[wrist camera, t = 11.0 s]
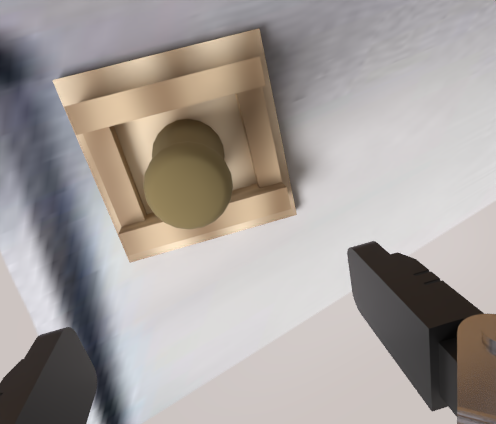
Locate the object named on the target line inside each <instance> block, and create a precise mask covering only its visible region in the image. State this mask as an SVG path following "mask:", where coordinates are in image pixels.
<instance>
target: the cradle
mask: <svg viewBox="0 0 496 424" xmlns="http://www.w3.org/2000/svg"><path fill="white" fill-rule="evenodd" d="M53 83H54V85H55V87H56V90H57V92H58V95H59V97H60V99H61V102H62V104H63V106H64V109H65V111H66V113H67V116H68V118H69V120H70V123H71V125H72V128H73V130H74V132H75V135H76V137H77V139H78V142H79V144H80V146H81V149H82V151H83V153H84V156H85V158H86V160H87V163H88V165H89V168H90V170H91V172H92V175H93V177H94V179H95V182H96V184H97V186H98V189H99V191H100V193H101V196H102V198H103V201H104V203H105V205H106V208H107V210H108V212H109V215H110V217H111V219H112V222H113V224H114V226H115V229H116V231H117V233H118V236H119V238H120V241H121V243H122V245H123V248H124V250H125V252H126V255H127V257H128V259H129V262H134V261H137V260H141V259H144V258H148V257H151V256H154V255H158V254H161V253H165V252H168V251H172V250H175V249H179V248H182V247H186V246H189V245H193V244H196V243H200V242H203V241H207V240H210V239H214V238H217V237H221V236H224V235H228V234H231V233H235V232H238V231H242V230H245V229H249V228H252V227H256V226H259V225H263V224H266V223H269V222H273V221H276V220H280V219H283V218H287V217H290V216H294V215H297V214H296V209H295V204H294V199H293V194H292V189H291V184H290V179H289V174H288V169H287V164H286V159H285V154H284V149H283V144H282V139H281V134H280V129H279V124H278V119H277V114H276V109H275V104H274V99H273V94H272V89H271V84H270V79H269V74H268V69H267V64H266V59H265V54H264V49H263V44H262V39H261V34H260V29H259V28H258V29H254V30H251V31H247V32H243V33H239V34H235V35H231V36H227V37H223V38H219V39H215V40H211V41H207V42H203V43H199V44H195V45H191V46H187V47H183V48H179V49H175V50H171V51H167V52H163V53H159V54H155V55H151V56H147V57H143V58H139V59H135V60H131V61H127V62H123V63H119V64H115V65H111V66H107V67H103V68H99V69H95V70H91V71H87V72H83V73H79V74H75V75H71V76H67V77H63V78H59V79H55V80H53ZM183 119H192V120H197V121H201V122H203V123H205V124H206V125H208V126H210V127H211V128H212V129H213V130H214V131H215V132H216V133H217V134H218V136H219V138H220V140H221V142H222V144H223V148H224V155H225V157H224V160H225V162H226V164H227V166H228V168H229V170H230V172H231V175H232V182H233V190H232V195H231V200H230V202H229V204H228V206H227V208H226V209H225V211H224V213H223V214H222V215H221V216H220V217H219V218H218V219H217V220H216V221H214V222H213V223H211V224H209V225H207V226H205V227H202V228H196V229H190V230H189V229H181V228H175V227H173V226H171V225H169V224H166V223H164V222H163V221H162V220H161V219H159V218H158V217H157V216H156V215H155V214H154V213H153V211H152V210H151V208H150V206H149V205H148V203H147V201H146V197H145V193H144V189H143V184H144V175H145V172H146V170H147V168H148V166H149V163H150V161H151V160H152V149H153V143H154V141H155V139H156V137H157V135H158V133H159V132H160V131H161V130H162V129H163V128H164V127H165V126H166V125H168V124H170V123H172V122H174V121H176V120H183Z"/></svg>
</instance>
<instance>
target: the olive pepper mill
mask: <svg viewBox="0 0 496 424" xmlns="http://www.w3.org/2000/svg"><path fill="white" fill-rule="evenodd" d="M224 157H225V155H224V148H223V144H222V142H221V140H220V138H219V136H218V134H217V133H216V132H215V131H214V130H213V129H212V128H211V127H210V126H208V125H206V124H205V123H203V122H201V121H197V120H192V119H183V120H176V121H174V122H172V123H170V124H168V125H166V126H165V127H164V128H163V129H162V130H161V131H160V132H159V133H158V135H157V137H156V139H155V141H154V143H153V149H152V160H151V161H150V163H149V166H148V168H147V170H146V172H145V175H144V184H143V189H144V193H145V197H146V201H147V203H148V205H149V206H150V208H151V210H152V211H153V213H154V214H155V215H156V216H157V217H158V218H159V219H161V220H162V221H163V222H164V223H166V224H169V225H171V226H173V227H175V228H181V229H189V230H190V229H196V228H202V227H205V226H207V225H209V224H211V223H213V222H214V221H216V220H217V219H218V218H219V217H220V216H221V215H222V214H223V213H224V211H225V209H226V208H227V206H228V204H229V202H230V200H231V195H232V190H233V182H232V175H231V172H230V170H229V168H228V166H227V164H226V162H225V160H224Z"/></svg>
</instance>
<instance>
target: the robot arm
mask: <svg viewBox="0 0 496 424" xmlns="http://www.w3.org/2000/svg"><path fill="white" fill-rule="evenodd" d="M347 255H348V263H349V270H350V277H351V285H352V292H353V296H354V300H355V303H356V305H357V308H358V310H359V311H360V313H361V315H362V316H363V317H364V319H365V320H366V321H367V323H368V324H369V326H370V327H371V328H372V329H373V331H374V332H375V334H376V335H377V337H378V338H379V339H380V341H381V342H382V343H383V345H384V346H385V348H386V349H387V350H388V352H389V353H390V354H391V356H392V357H393V359H394V360H395V361H396V363H397V364H398V365H399V367H400V368H401V369H402V371H403V372H404V374H405V375H406V376H407V378H408V379H409V380H410V382H411V383H412V385H413V386H414V387H415V389H416V390H417V392H418V393H419V394H420V396H421V397H422V398H423V400H424V401H425V403H426V404H427V405H428V407H429V408H430V409H431V411H435V410H438V409H441V408H444V407H447V406H449V407H450V409H451V410H452V411H453V413H454V414H455V415H456V416H457V424H496V314H484V313H483V312H481V311H480V310H479V309H478V308H476V307H475V306H474V305H473V304H471V303H470V302H469V301H468V300H466V299H465V298H464V297H463V296H461V295H460V294H459V293H457V292H456V291H455V290H454V289H452V288H451V287H450V286H449V285H447V284H446V283H445V282H444V281H440V278H439V277H437V276H436V275H435V274H433V273H432V272H429V270H428V269H427V268H426V267H425V266H423V265H422V264H421V263H420V262H418V261H417V260H416V259H414V258H411V257H408V256H406V255H403V254H400V253H394V254H391V255H390V254H389V253H388V252H387V251H386V250H385V249H383V248H382V247H381V246H380V245H379V244H378V243H376V242H375V241H372V242H369V243H365V244H362V245H358V246H355V247H351V248H349V249H348V252H347ZM96 389H97V376H96V371H95V368H94V366H93V364H92V362H91V360H90V359H89V357H88V355H87V353H86V351H85V349H84V347H83V345H82V343H81V342H80V340H79V338H78V336H77V334H76V332H75V331H74V330H73V329H72V328H70V327H67V328H63V329H60V330H56V331H52V332H49V333H45V334H42V335H40V336H38V337H37V338H36V340H35V342H34V343H33V345H32V346H31V348H30V350H29V351H28V353H27V355H26V356H25V358H24V359H22V360H21V361H20V362H19V363H18V364H17V365H16V366H15V367H14V368H13V369H12V370H11V371H10V372H9V373H8V374H7V375H6V376H5V377H4V378H3V380H2V381H1V383H0V424H86V422H87V419H88V416H89V412H90V409H91V406H92V403H93V400H94V396H95V393H96Z"/></svg>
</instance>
